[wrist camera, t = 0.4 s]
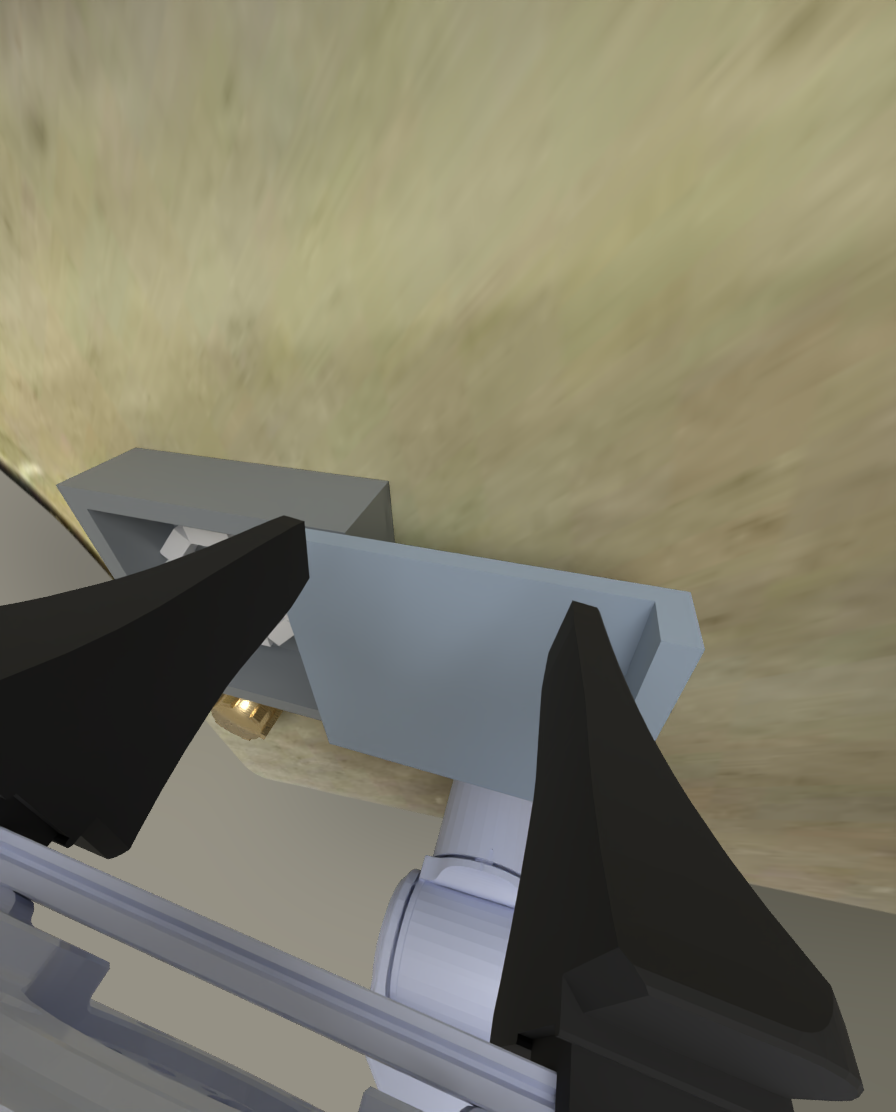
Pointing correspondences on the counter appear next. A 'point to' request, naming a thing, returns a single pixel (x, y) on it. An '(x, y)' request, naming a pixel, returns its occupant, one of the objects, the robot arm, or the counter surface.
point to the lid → (467, 652)
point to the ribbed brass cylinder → (244, 717)
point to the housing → (221, 532)
